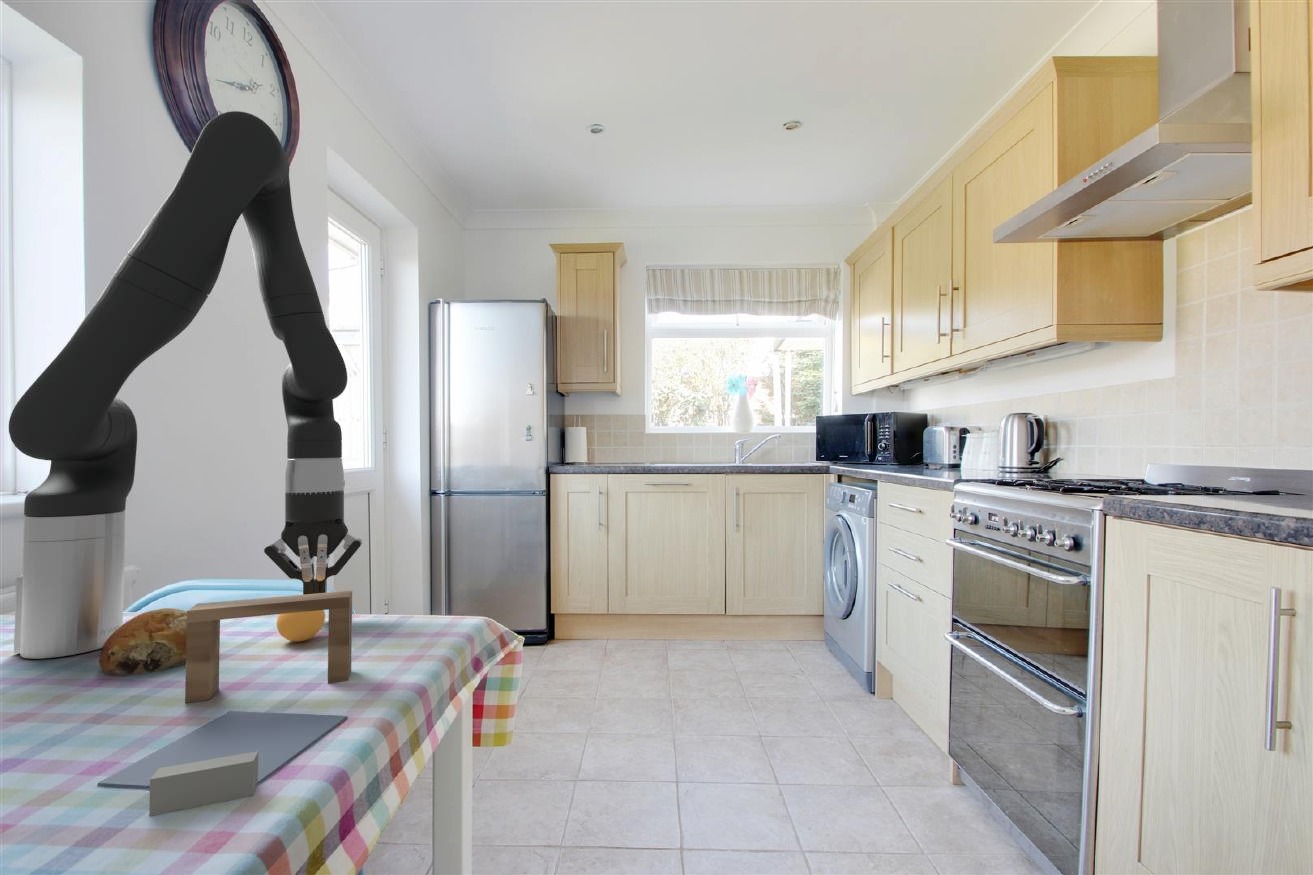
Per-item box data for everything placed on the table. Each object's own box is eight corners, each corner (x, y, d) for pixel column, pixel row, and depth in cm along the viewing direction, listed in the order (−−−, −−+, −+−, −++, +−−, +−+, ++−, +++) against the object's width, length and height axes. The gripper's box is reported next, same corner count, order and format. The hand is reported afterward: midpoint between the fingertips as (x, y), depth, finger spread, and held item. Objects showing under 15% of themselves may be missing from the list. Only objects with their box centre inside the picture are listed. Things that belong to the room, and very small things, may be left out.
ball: (265, 646, 74) (266, 604, 74) (296, 633, 79) (296, 593, 79) (306, 648, 73) (306, 605, 73) (333, 634, 79) (334, 594, 79)
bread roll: (216, 682, 71) (240, 616, 75) (144, 676, 62) (175, 601, 66) (145, 679, 72) (172, 614, 76) (63, 672, 63) (98, 599, 67)
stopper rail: (158, 803, 41) (158, 768, 41) (257, 784, 43) (258, 750, 43) (149, 815, 39) (150, 779, 39) (252, 795, 42) (253, 760, 42)
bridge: (195, 691, 60) (197, 603, 60) (351, 670, 66) (352, 590, 66) (185, 703, 57) (186, 610, 57) (348, 680, 63) (349, 596, 63)
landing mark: (97, 785, 43) (97, 782, 43) (229, 712, 55) (229, 710, 55) (245, 793, 42) (245, 790, 42) (347, 717, 54) (347, 715, 54)
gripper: (255, 492, 79) (255, 617, 79) (362, 488, 84) (362, 606, 84) (269, 489, 86) (269, 604, 85) (367, 485, 91) (367, 594, 90)
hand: (315, 605), depth 85 cm, fingers closed
